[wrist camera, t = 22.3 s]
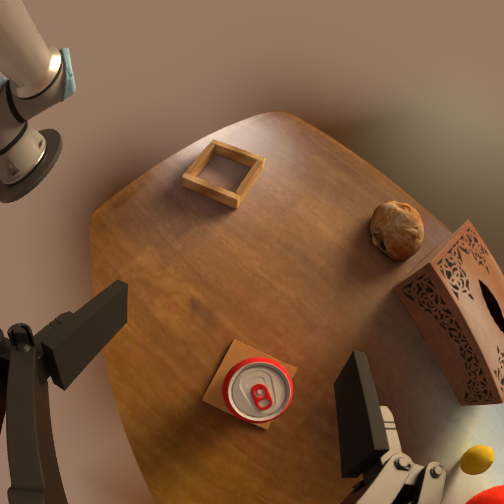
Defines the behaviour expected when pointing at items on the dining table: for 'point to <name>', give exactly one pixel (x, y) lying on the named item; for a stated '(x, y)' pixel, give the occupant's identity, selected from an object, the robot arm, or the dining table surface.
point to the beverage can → (257, 390)
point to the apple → (489, 496)
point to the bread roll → (397, 229)
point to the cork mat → (231, 358)
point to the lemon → (477, 460)
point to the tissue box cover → (461, 314)
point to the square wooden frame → (215, 191)
